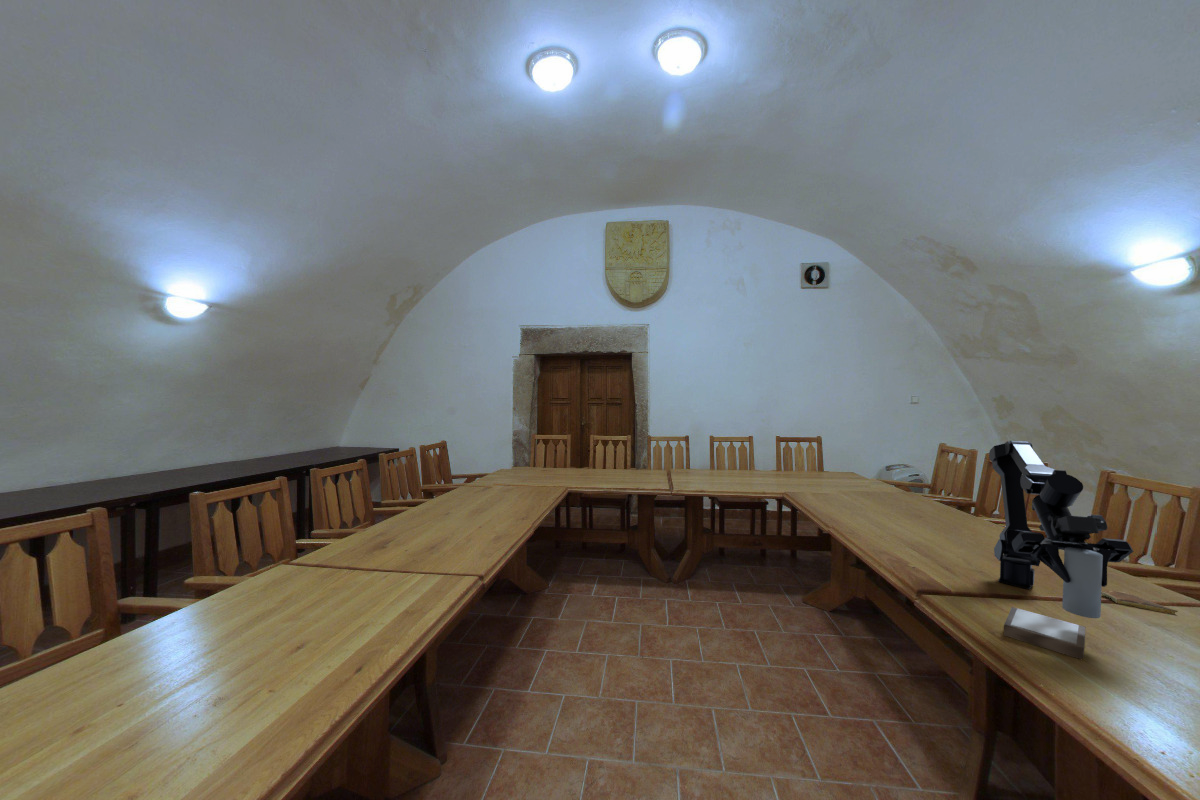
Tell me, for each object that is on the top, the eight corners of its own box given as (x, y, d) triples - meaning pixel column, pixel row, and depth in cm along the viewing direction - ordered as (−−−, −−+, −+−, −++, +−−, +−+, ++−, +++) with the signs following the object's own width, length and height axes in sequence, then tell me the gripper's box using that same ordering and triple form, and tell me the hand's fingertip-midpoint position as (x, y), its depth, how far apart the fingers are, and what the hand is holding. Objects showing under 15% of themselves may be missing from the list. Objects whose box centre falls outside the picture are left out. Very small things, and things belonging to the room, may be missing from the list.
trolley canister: (1061, 611, 97) (1064, 551, 97) (1062, 602, 101) (1064, 545, 100) (1100, 621, 93) (1103, 559, 92) (1100, 611, 97) (1102, 552, 96)
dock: (1003, 635, 100) (1004, 623, 100) (1011, 617, 108) (1011, 606, 108) (1083, 659, 91) (1083, 646, 91) (1085, 638, 99) (1085, 626, 99)
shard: (1178, 617, 109) (1178, 609, 109) (1150, 618, 108) (1150, 611, 108) (1122, 596, 120) (1122, 589, 120) (1096, 597, 119) (1097, 590, 119)
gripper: (1020, 496, 103) (1047, 561, 93) (1128, 503, 97) (1170, 574, 87) (1001, 520, 111) (1025, 583, 101) (1100, 528, 104) (1136, 596, 94)
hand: (1086, 583), depth 95 cm, fingers closed on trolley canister, 6 cm apart
